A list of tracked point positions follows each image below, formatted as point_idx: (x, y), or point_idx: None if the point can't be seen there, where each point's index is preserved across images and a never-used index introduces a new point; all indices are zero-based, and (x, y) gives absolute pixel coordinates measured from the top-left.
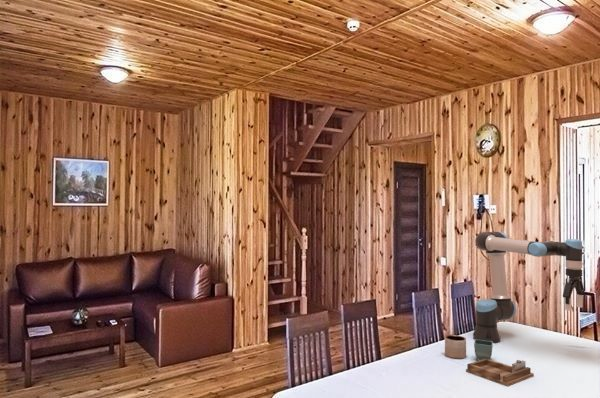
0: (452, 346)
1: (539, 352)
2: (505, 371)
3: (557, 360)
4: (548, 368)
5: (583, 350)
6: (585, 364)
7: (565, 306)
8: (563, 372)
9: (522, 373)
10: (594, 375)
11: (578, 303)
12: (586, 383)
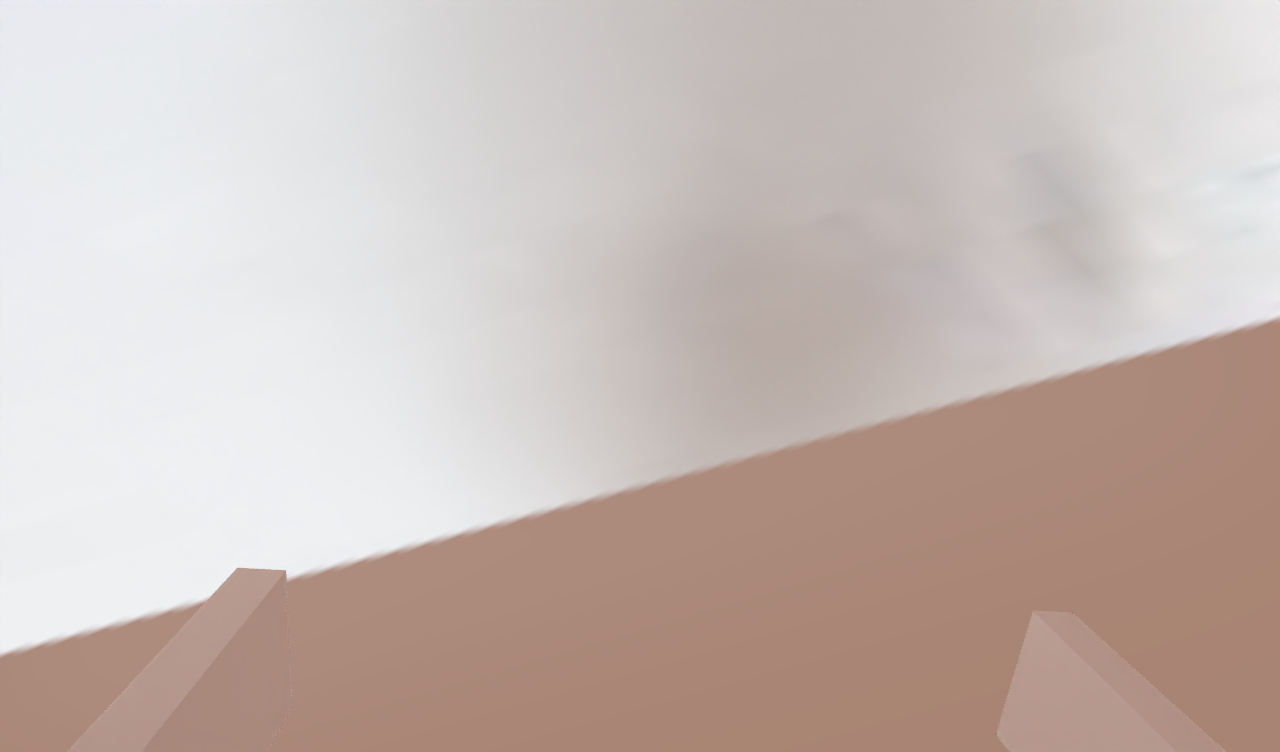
0: None
1: (550, 15)
2: None
3: (427, 250)
4: (103, 276)
5: (966, 313)
6: (521, 454)
7: (171, 658)
8: (123, 402)
9: None
10: None
11: (1091, 744)
12: (34, 595)
